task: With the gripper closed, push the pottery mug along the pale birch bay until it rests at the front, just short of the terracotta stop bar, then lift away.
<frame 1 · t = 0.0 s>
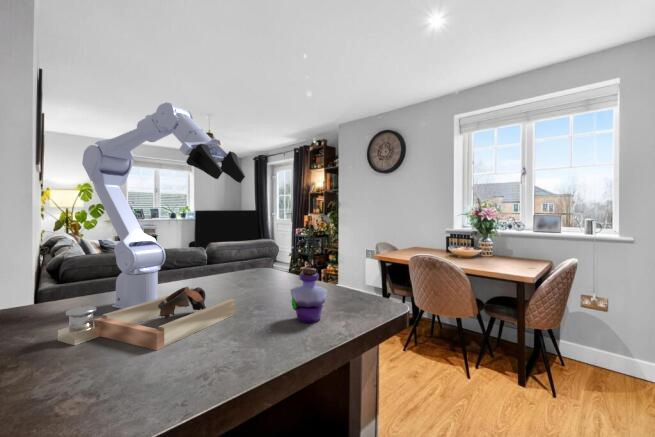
hand: (231, 177, 68), 32 cm above the kitchen counter, tool tilted 50°, fingers open, 7 cm apart
bay: (174, 322, 68), on the kitchen counter
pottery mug: (187, 318, 71), on the kitchen counter
potion bottle: (308, 320, 72), on the kitchen counter
winch drum: (81, 337, 59), on the kitchen counter
crank handle: (185, 303, 83), on the kitchen counter
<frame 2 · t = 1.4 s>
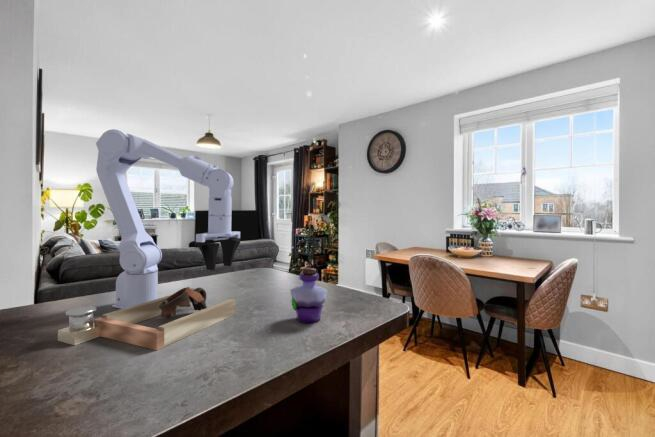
hand: (219, 267, 81), 10 cm above the kitchen counter, tool pointing down, fingers open, 6 cm apart
nothing on the kitchen counter moved.
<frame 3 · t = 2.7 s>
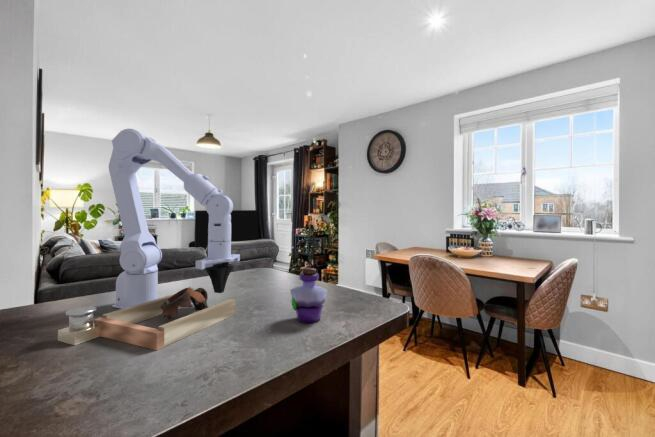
hand: (219, 292, 81), 3 cm above the kitchen counter, tool pointing down, fingers closed
nothing on the kitchen counter moved.
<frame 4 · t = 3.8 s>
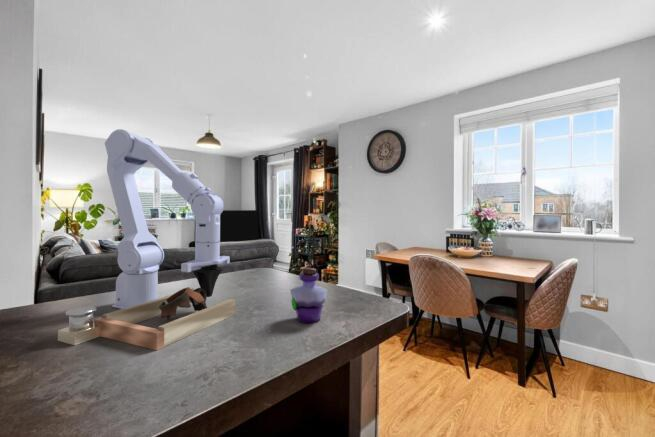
hand: (207, 296, 77), 3 cm above the kitchen counter, tool pointing down, fingers closed
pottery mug: (188, 319, 70), on the kitchen counter, touching gripper
everything else where it was.
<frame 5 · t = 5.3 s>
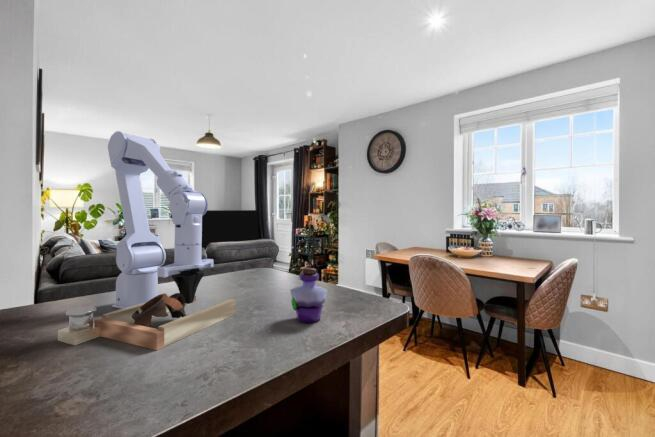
hand: (187, 302, 71), 3 cm above the kitchen counter, tool pointing down, fingers closed
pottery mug: (166, 328, 65), on the kitchen counter, touching gripper
everything else where it was.
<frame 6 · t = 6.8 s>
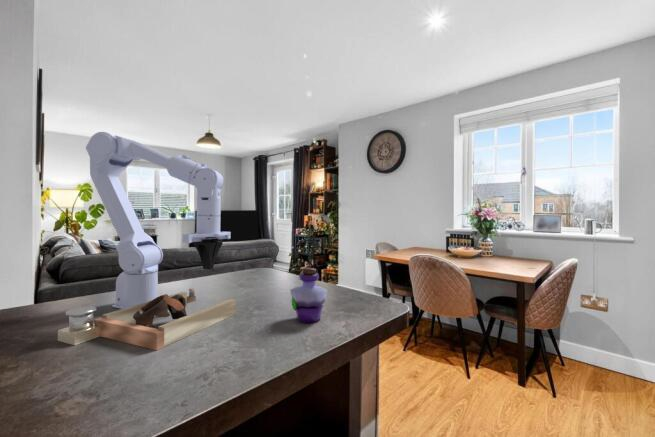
hand: (208, 268, 79), 10 cm above the kitchen counter, tool pointing down, fingers closed
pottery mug: (166, 329, 65), on the kitchen counter
everything else where it was.
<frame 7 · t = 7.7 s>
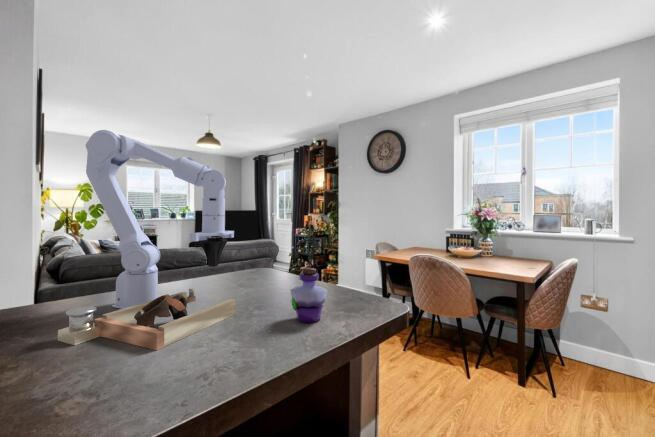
hand: (213, 266, 83), 10 cm above the kitchen counter, tool pointing down, fingers closed
nothing on the kitchen counter moved.
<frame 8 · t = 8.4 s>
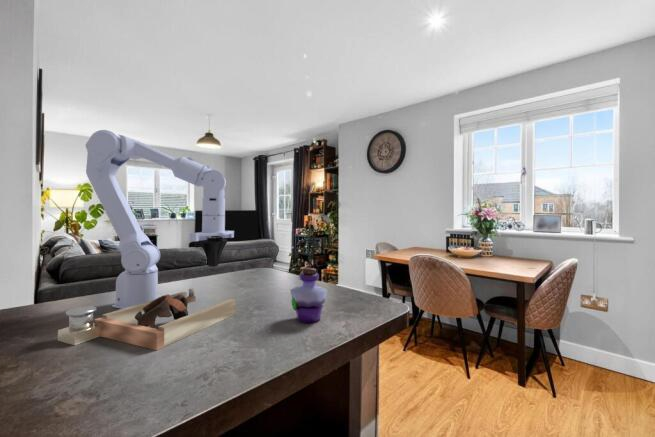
hand: (213, 266, 83), 10 cm above the kitchen counter, tool pointing down, fingers closed
nothing on the kitchen counter moved.
at the end: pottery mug inside the target area (2.0 cm from its centre), on the kitchen counter; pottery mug tilted 0° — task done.
